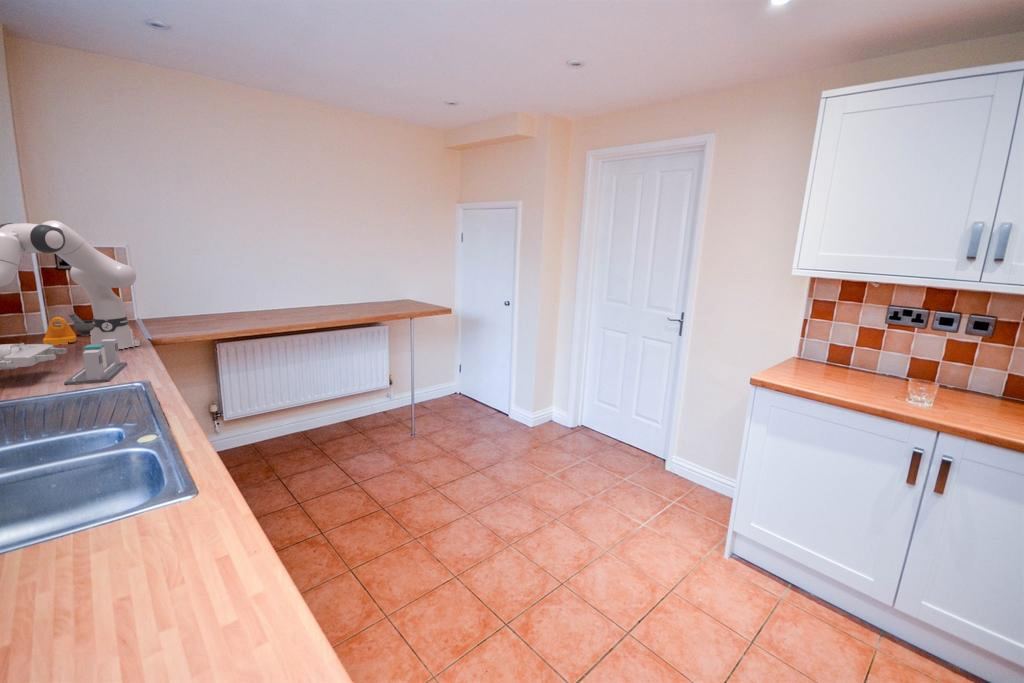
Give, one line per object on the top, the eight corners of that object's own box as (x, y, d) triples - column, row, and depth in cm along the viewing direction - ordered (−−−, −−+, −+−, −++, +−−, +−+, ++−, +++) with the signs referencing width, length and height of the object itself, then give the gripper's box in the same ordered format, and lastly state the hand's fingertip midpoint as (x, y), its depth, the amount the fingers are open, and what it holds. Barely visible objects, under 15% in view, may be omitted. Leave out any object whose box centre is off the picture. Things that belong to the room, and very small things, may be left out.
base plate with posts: (88, 367, 183) (84, 339, 181) (127, 364, 189) (123, 338, 186) (64, 385, 162) (59, 354, 159) (108, 381, 167) (104, 352, 165)
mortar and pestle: (101, 332, 242) (97, 310, 240) (101, 336, 235) (98, 312, 233) (71, 335, 235) (68, 311, 232) (71, 338, 228) (67, 314, 225)
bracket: (43, 346, 212) (38, 320, 210) (45, 342, 218) (41, 317, 215) (75, 343, 219) (71, 318, 216) (76, 340, 224) (73, 316, 222)
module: (92, 370, 176) (87, 344, 174) (107, 369, 178) (103, 344, 176) (87, 373, 172) (83, 347, 170) (103, 372, 174) (99, 346, 172)
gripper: (-9, 354, 153) (47, 351, 159) (20, 342, 171) (69, 339, 177) (-5, 373, 154) (50, 369, 161) (23, 358, 172) (72, 355, 178)
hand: (60, 353), depth 169 cm, fingers open, 8 cm apart
